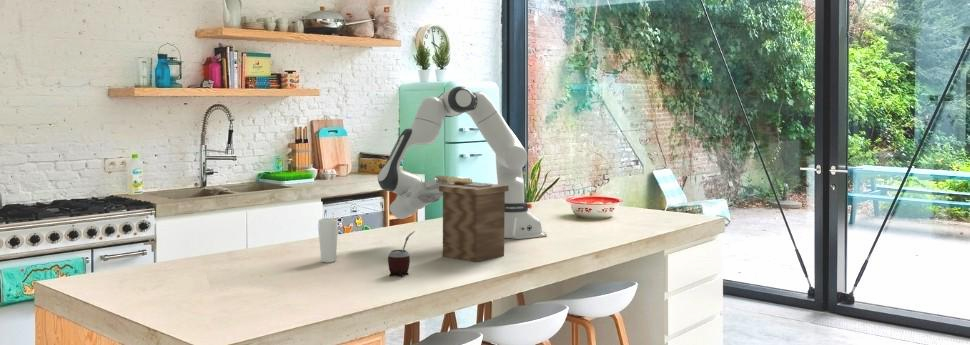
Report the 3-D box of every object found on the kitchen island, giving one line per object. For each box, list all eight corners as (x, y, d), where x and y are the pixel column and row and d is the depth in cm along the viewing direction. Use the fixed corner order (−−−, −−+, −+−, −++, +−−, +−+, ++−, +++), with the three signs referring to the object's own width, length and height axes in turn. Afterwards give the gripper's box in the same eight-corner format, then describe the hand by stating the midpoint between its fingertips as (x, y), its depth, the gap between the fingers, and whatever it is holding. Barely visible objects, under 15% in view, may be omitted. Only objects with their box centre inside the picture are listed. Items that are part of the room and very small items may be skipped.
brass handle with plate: (431, 182, 327) (431, 175, 327) (442, 181, 332) (442, 174, 331) (481, 187, 312) (481, 180, 312) (491, 186, 316) (492, 179, 316)
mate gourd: (385, 273, 289) (385, 228, 288) (408, 272, 292) (408, 227, 290) (391, 278, 282) (391, 232, 281) (415, 276, 285) (415, 231, 283)
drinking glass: (340, 259, 311) (340, 218, 310) (335, 263, 305) (334, 221, 303) (321, 259, 312) (321, 217, 311) (316, 263, 305) (315, 220, 304)
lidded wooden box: (438, 256, 319) (438, 185, 317) (470, 249, 333) (470, 181, 330) (476, 262, 308) (477, 189, 305) (507, 255, 322) (508, 185, 319)
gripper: (399, 189, 328) (422, 173, 319) (436, 185, 343) (459, 169, 335) (405, 205, 326) (428, 189, 318) (442, 199, 342) (465, 184, 334)
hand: (444, 179), depth 327 cm, fingers open, 8 cm apart
